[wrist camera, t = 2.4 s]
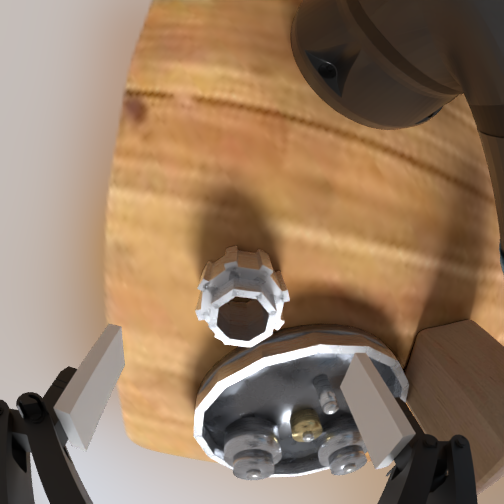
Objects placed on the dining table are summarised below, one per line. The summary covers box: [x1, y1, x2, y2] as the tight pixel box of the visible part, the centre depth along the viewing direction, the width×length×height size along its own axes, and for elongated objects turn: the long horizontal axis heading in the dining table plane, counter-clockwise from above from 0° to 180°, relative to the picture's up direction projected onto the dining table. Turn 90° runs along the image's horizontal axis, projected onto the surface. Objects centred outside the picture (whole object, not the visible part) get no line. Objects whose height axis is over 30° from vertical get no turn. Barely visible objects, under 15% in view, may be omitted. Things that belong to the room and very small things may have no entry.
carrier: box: [194, 324, 409, 480], centre depth 26 cm, size 25×25×8 cm
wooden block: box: [405, 320, 504, 495], centre depth 19 cm, size 10×10×20 cm
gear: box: [195, 245, 290, 347], centre depth 22 cm, size 7×7×6 cm
